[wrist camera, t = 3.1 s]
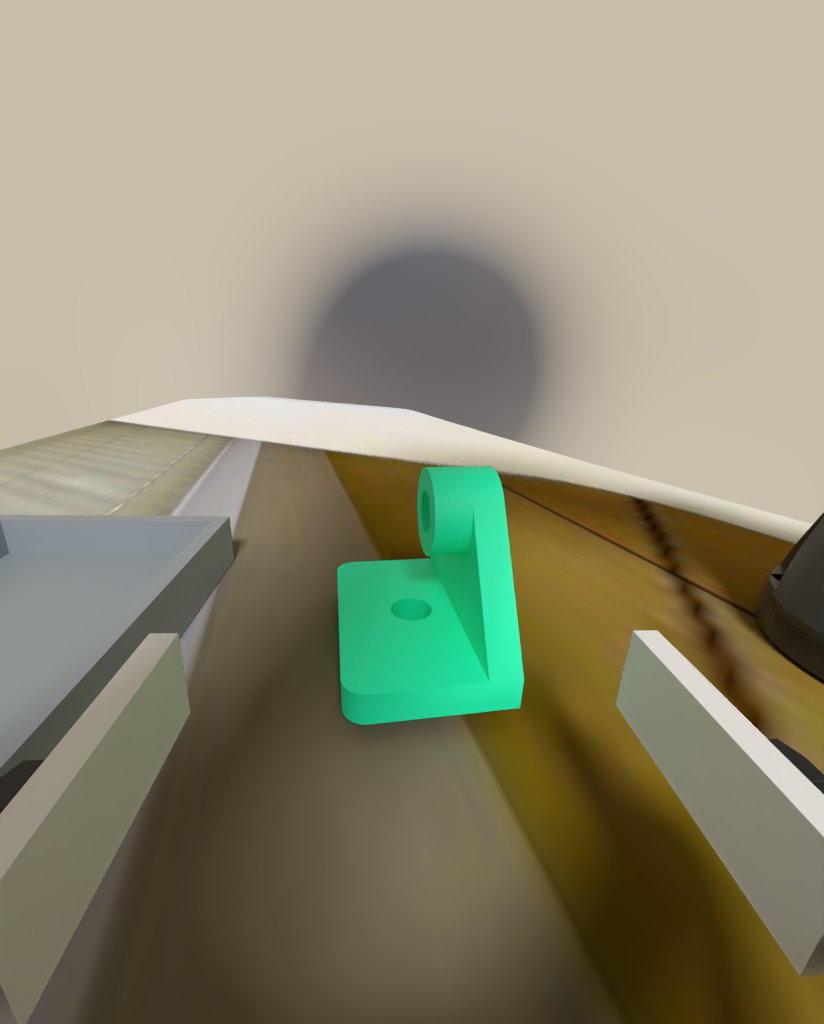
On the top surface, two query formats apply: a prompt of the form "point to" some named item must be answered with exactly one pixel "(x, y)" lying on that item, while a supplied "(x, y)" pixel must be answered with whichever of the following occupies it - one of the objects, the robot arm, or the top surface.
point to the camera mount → (435, 611)
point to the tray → (90, 609)
